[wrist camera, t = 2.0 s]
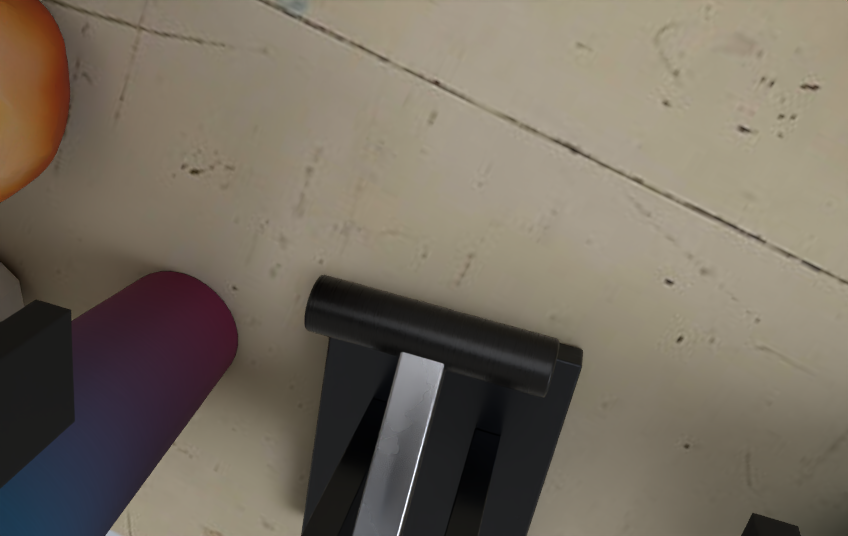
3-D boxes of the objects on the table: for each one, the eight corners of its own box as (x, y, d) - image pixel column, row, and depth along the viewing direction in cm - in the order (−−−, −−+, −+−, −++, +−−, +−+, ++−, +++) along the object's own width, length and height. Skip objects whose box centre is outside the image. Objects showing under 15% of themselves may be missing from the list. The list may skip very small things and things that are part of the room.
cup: (81, 258, 30) (-335, 518, 17) (230, 240, 28) (-110, 520, 15) (138, 401, 33) (-187, 725, 20) (279, 394, 31) (23, 749, 18)
